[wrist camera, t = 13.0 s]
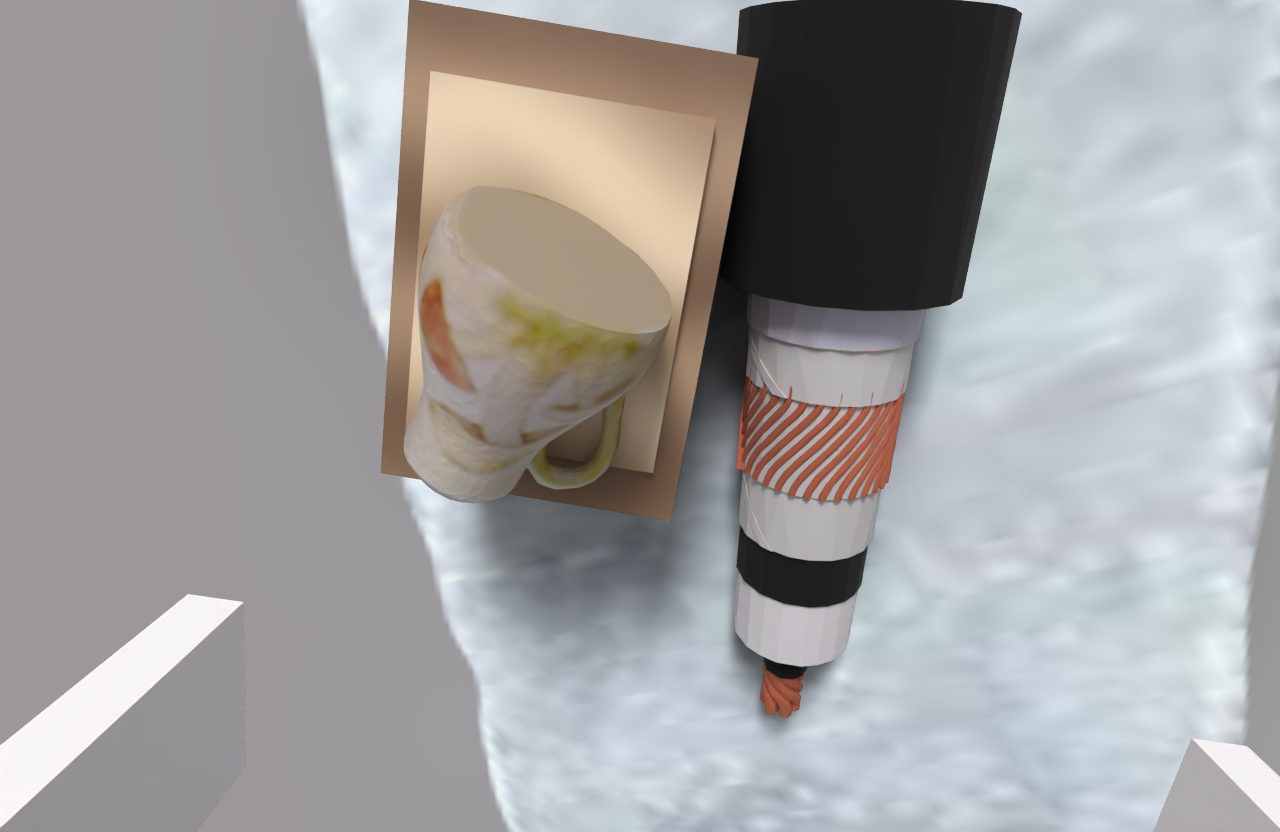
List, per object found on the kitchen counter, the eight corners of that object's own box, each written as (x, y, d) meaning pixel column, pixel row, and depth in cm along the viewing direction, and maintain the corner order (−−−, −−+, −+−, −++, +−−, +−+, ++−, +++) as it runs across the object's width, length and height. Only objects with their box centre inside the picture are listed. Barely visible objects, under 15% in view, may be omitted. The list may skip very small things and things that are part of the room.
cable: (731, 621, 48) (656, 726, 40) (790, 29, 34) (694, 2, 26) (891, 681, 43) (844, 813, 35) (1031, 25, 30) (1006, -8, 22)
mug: (373, 436, 27) (240, 351, 17) (545, 246, 29) (513, 71, 19) (531, 566, 26) (486, 554, 16) (697, 360, 28) (744, 241, 18)
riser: (670, 423, 39) (670, 527, 27) (465, 389, 39) (374, 479, 27) (729, 102, 34) (761, 55, 22) (496, 62, 34) (402, -7, 22)
